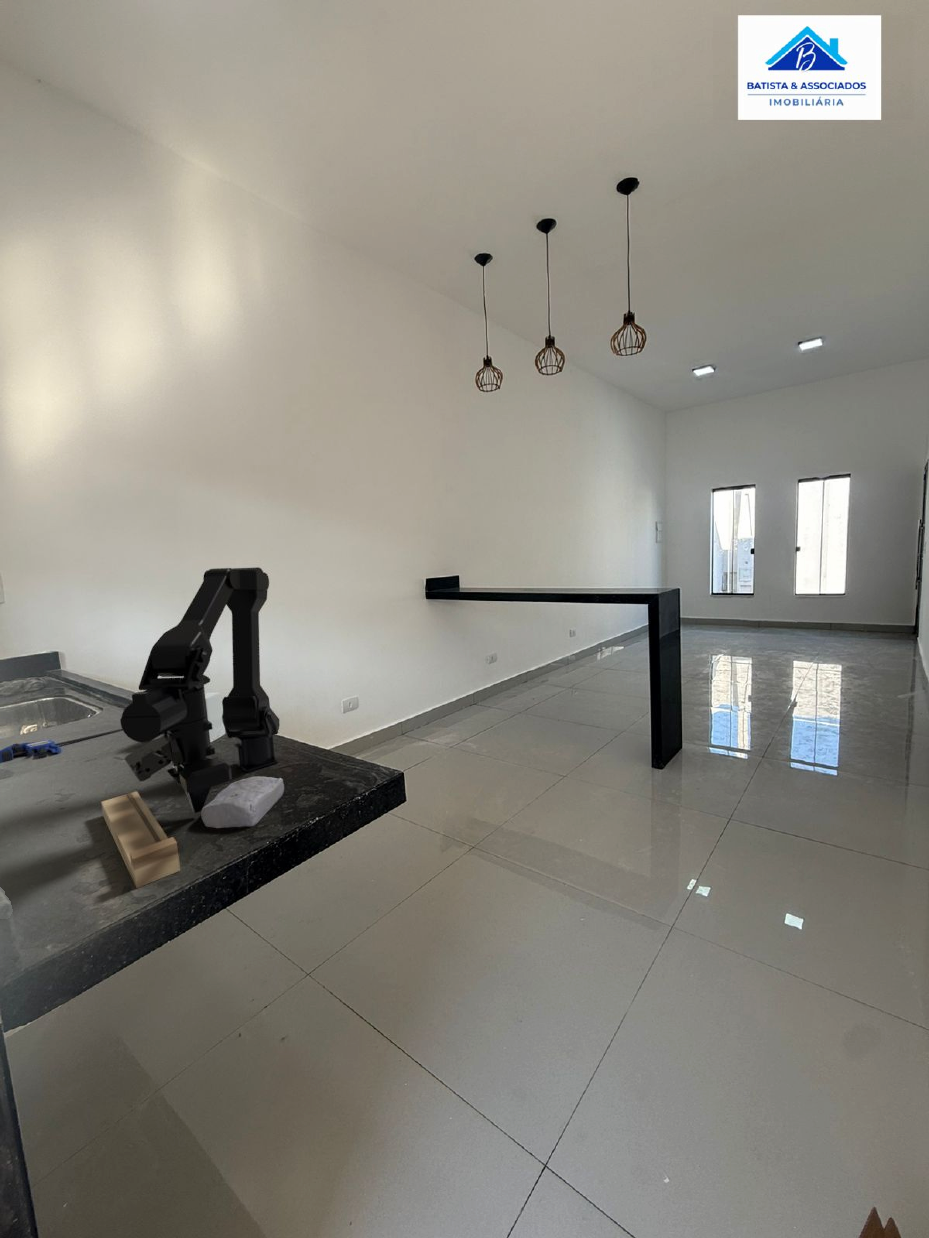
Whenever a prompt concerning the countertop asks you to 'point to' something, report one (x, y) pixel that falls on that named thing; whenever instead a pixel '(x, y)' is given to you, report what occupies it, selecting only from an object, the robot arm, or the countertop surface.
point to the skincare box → (215, 714)
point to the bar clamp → (38, 748)
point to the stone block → (243, 802)
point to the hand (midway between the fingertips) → (197, 811)
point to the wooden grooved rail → (140, 839)
